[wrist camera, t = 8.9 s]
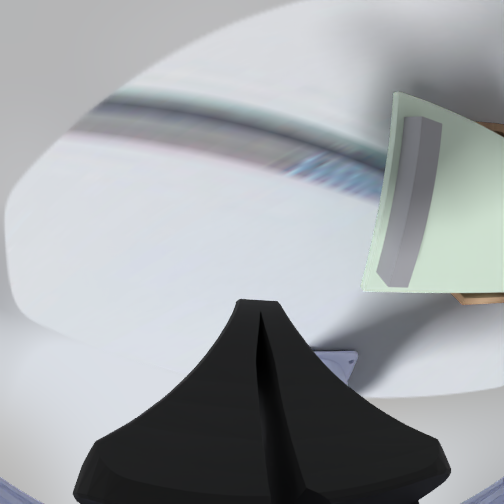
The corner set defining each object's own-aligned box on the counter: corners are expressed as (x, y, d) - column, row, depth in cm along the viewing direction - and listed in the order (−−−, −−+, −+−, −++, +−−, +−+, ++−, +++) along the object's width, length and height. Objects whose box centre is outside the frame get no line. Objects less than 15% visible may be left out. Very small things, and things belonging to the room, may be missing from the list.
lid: (534, 159, 11) (554, 165, 9) (502, 288, 15) (518, 302, 13) (393, 92, 11) (415, 87, 9) (360, 286, 15) (374, 307, 13)
